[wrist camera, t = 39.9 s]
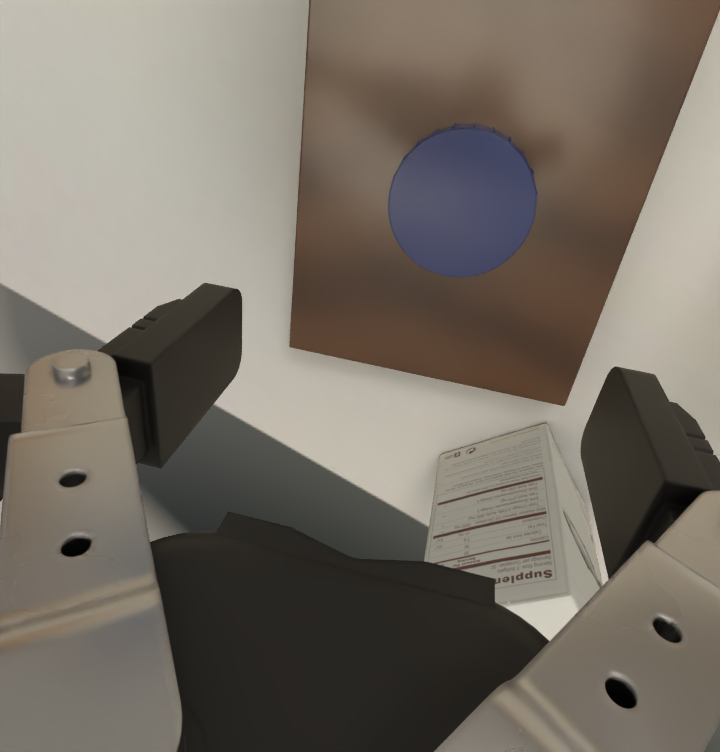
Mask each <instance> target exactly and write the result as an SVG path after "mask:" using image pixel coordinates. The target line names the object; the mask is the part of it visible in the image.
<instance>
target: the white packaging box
mask: <svg viewBox="0 0 720 752" xmlns="http://www.w3.org/2000/svg"><path fill="white" fill-rule="evenodd" d="M424 561H425V562H430V563H434V564H438V565H442V566H446V567H450V568H454V569H458V570H462V571H466V572H470V573H474V574H478V575H482V576H486V577H490V578H494V579H495V602H496V603H498V604H500V605H502V606H504V607H505V608H507V609H509V610H510V611H512V612H514V613H515V614H517V615H518V616H520V617H521V618H523V619H524V620H525V621H527V622H528V623H529V624H531V625H532V626H533V627H535V628H536V629H537V630H538V631H539V632H540V633H541V634H542V635H544V636H545V637H546V638H547V639H548V640H549V641H550V640H551V639H552V638H553V637H554V636H555V635H556V634H557V633H558V632H559V631H560V630H561V629H562V628H563V627H564V626H565V625H566V624H567V623H568V622H569V621H570V620H571V619H572V617H573V616H574V615H575V614H576V613H577V612H578V611H579V610H580V609H581V608H582V607H583V606H584V605H585V604H586V603H587V602H588V601H589V600H590V599H591V598H592V597H593V596H594V595H595V593H596V592H597V591H598V590H599V589H600V588H601V587H602V586H603V584H602V579H601V574H600V569H599V564H598V559H597V554H596V550H595V544H594V539H593V534H592V530H591V525H590V520H589V515H588V511H587V507H586V505H585V503H584V502H583V500H582V498H581V496H580V494H579V492H578V491H577V489H576V487H575V485H574V483H573V481H572V479H571V477H570V475H569V472H568V470H567V468H566V466H565V464H564V462H563V459H562V457H561V455H560V453H559V451H558V448H557V446H556V444H555V441H554V439H553V437H552V434H551V432H550V429H549V427H548V425H547V424H541V425H537V426H534V427H530V428H527V429H523V430H520V431H517V432H513V433H510V434H507V435H503V436H500V437H496V438H493V439H490V440H487V441H483V442H480V443H477V444H473V445H470V446H467V447H463V448H460V449H457V450H454V451H450V452H447V453H444V454H442V455H440V456H439V463H438V470H437V476H436V484H435V491H434V498H433V505H432V511H431V518H430V525H429V531H428V539H427V545H426V552H425V559H424Z"/></svg>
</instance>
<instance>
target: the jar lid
mask: <svg viewBox="0 0 720 752" xmlns="http://www.w3.org/2000/svg"><path fill="white" fill-rule="evenodd" d="M415 145H416V146H415V147H414V148H413V149H412V151H411V152H410V153H409V154H406V155H405V156H404V157H403V159H402V163H401V165H400V166H399V168H398V170H397V171H396V173H395V175H394V176H393V181H392V184H391V188H390V192H389V196H388V197H389V199H388V212H389V220H390V224H391V228H392V231H393V234H394V236H395V238H396V240H397V242H398V244H399V245H400V247H401V248H402V250H403V251H404V252H405V253H406V254H407V255H408V257H409V258H411V259H412V260H413V261H414V262H415V263H416V264H418V265H419V266H421V267H422V268H424V269H426V270H428V271H430V272H433V273H436V274H438V275H442V276H447V277H457V278H458V277H470V276H476V275H480V274H483V273H486V272H488V271H490V270H493V269H495V268H496V267H498V266H500V265H501V264H503V263H504V262H505V261H507V260H508V259H509V258H510V257H511V256H512V255H513V254H514V253H515V252H516V251H517V250H518V249H519V248H520V246H521V245H522V244H523V242H524V240H525V239H526V237H527V235H528V234H529V231H530V229H531V227H532V223H533V220H534V217H535V215H536V213H535V211H536V198H537V197H536V196H538V193H537V190H536V187H535V183H534V179H533V176H535V175H534V172H533V169H530V167H529V164H528V161H527V160H526V155H525V152H524V151H523V152H522V151H521V150H520V149H519V148H518V146H517V145H516V144H515V143H514V142H513V141H512V137H509V138H508V137H507V136H505V135H504V134H503V133H501V132H499V131H497V130H495V127H493V128H489V127H486V126H483V125H477V124H476V122H474V123H473V124H458V125H456V123H454V124H453V125H452V126H449V127H445V128H443V129H440V130H437V129H435V130H434V131H433V133H432V134H430V135H428V136H427V137H426V138H424V139H423V140H422V141H421V140H419V141H418V142H417V143H416V144H415Z"/></svg>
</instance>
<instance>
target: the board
mask: <svg viewBox="0 0 720 752" xmlns="http://www.w3.org/2000/svg"><path fill="white" fill-rule="evenodd" d="M719 11H720V0H309V17H308V34H307V52H306V69H305V86H304V103H303V121H302V138H301V155H300V172H299V190H298V207H297V224H296V241H295V258H294V276H293V293H292V310H291V327H290V345H289V346H290V347H292V348H296V349H301V350H306V351H310V352H315V353H320V354H324V355H329V356H333V357H338V358H343V359H347V360H352V361H357V362H361V363H366V364H371V365H375V366H380V367H385V368H389V369H394V370H399V371H403V372H408V373H413V374H417V375H422V376H427V377H431V378H436V379H441V380H445V381H450V382H455V383H459V384H464V385H469V386H473V387H478V388H482V389H487V390H492V391H496V392H501V393H506V394H510V395H515V396H520V397H524V398H529V399H534V400H538V401H543V402H548V403H552V404H557V405H562V406H565V404H566V402H567V399H568V396H569V394H570V391H571V389H572V386H573V384H574V381H575V379H576V376H577V373H578V371H579V368H580V366H581V363H582V361H583V358H584V356H585V353H586V350H587V348H588V345H589V343H590V340H591V338H592V335H593V333H594V330H595V327H596V325H597V322H598V320H599V317H600V315H601V312H602V310H603V307H604V304H605V302H606V299H607V297H608V294H609V292H610V289H611V287H612V284H613V281H614V279H615V276H616V274H617V271H618V269H619V266H620V264H621V261H622V258H623V256H624V253H625V251H626V248H627V246H628V243H629V241H630V238H631V235H632V233H633V230H634V228H635V225H636V223H637V220H638V218H639V215H640V212H641V210H642V207H643V205H644V202H645V200H646V197H647V195H648V192H649V189H650V187H651V184H652V182H653V179H654V177H655V174H656V172H657V169H658V166H659V164H660V161H661V159H662V156H663V154H664V151H665V149H666V146H667V143H668V141H669V138H670V136H671V133H672V131H673V128H674V126H675V123H676V120H677V118H678V115H679V113H680V110H681V108H682V105H683V103H684V100H685V97H686V95H687V92H688V90H689V87H690V85H691V82H692V80H693V77H694V74H695V72H696V69H697V67H698V64H699V62H700V59H701V57H702V54H703V51H704V49H705V46H706V44H707V41H708V39H709V36H710V34H711V31H712V28H713V26H714V23H715V21H716V18H717V16H718V13H719ZM474 122H476V124H477V125H483V126H486V127H489V128H493V127H495V130H497V131H499V132H501V133H503V134H504V135H505V136H507V137H508V138H509V137H512V141H513V142H514V143H515V144H516V145H517V146H518V148H519V149H520V150H521V151H522V152H523V151H524V152H525V155H526V160H527V161H528V164H529V167H530V169H533V172H534V175H535V176H533V179H534V183H535V187H536V190H537V193H538V196H536V197H537V198H536V211H535V213H536V215H535V217H534V220H533V223H532V227H531V229H530V231H529V234H528V235H527V237H526V239H525V240H524V242H523V244H522V245H521V246H520V248H519V249H518V250H517V251H516V252H515V253H514V254H513V255H512V256H511V257H510V258H509V259H508V260H507V261H505V262H504V263H503V264H501V265H500V266H498V267H496V268H495V269H493V270H490V271H488V272H486V273H483V274H480V275H476V276H470V277H458V278H457V277H447V276H442V275H438V274H436V273H433V272H430V271H428V270H426V269H424V268H422V267H421V266H419V265H418V264H416V263H415V262H414V261H413V260H412V259H411V258H409V257H408V255H407V254H406V253H405V252H404V251H403V250H402V248H401V247H400V245H399V244H398V242H397V240H396V238H395V236H394V234H393V231H392V228H391V224H390V220H389V212H388V199H389V197H388V196H389V192H390V188H391V184H392V181H393V176H394V175H395V173H396V171H397V170H398V168H399V166H400V165H401V163H402V159H403V157H404V156H405V155H406V154H409V153H410V152H411V151H412V149H413V148H414V147H415V146H416V145H415V144H416V143H417V142H418V141H419V140H421V141H422V140H423V139H424V138H426V137H427V136H428V135H430V134H432V133H433V131H434V130H435V129H437V130H440V129H443V128H445V127H449V126H452V125H453V124H454V123H456V125H458V124H473V123H474Z"/></svg>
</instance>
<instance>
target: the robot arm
mask: <svg viewBox="0 0 720 752" xmlns="http://www.w3.org/2000/svg"><path fill="white" fill-rule="evenodd" d="M241 355H242V296H241V293H240V291H239V290H238V289H234V288H229V287H224V286H219V285H214V284H209V283H204V284H202V285H201V286H200V287H198V288H197V289H196V290H194V291H193V292H192V293H190V294H189V295H188V296H187V297H185V298H184V299H183V300H181V299H177V300H175V301H172V302H169V303H166V304H163V305H160V306H157V307H156V308H155V309H153V310H152V311H151V312H149V313H148V314H147V315H145V316H144V318H143V319H140V320H138V321H137V322H136V323H134V324H133V325H132V328H130V327H129V328H128V329H126V330H125V331H124V332H122V333H121V334H119V335H118V336H117V337H115V338H114V339H113V340H111V341H110V342H109V343H107V344H106V345H105V346H103V347H102V348H101V349H99V350H98V351H94V350H79V349H78V350H67V351H61V352H56V353H53V354H50V355H47V356H45V357H42V358H40V359H38V360H37V361H35V362H34V363H32V364H31V365H30V366H29V367H28V369H27V370H26V373H25V374H0V501H1V500H2V499H3V503H2V513H1V524H0V752H704V750H705V748H706V746H707V744H708V742H709V740H710V738H711V736H712V735H713V733H714V731H715V729H716V727H717V725H718V723H719V722H720V462H719V460H718V458H717V457H716V455H713V452H714V451H713V450H712V448H711V446H710V444H709V442H708V441H707V440H705V435H704V434H703V432H702V430H701V428H700V427H699V425H698V423H697V421H696V420H695V419H694V418H693V417H692V416H691V415H689V414H688V413H687V412H686V411H685V410H684V409H683V408H682V407H680V406H679V405H678V404H677V403H674V402H669V400H668V398H667V396H666V394H665V392H664V390H663V389H662V387H661V385H660V383H659V381H658V379H657V377H656V376H655V375H654V374H650V373H645V372H640V371H635V370H630V369H625V368H620V367H614V368H612V369H611V371H610V372H609V374H608V375H607V377H606V380H605V382H604V384H603V387H602V389H601V391H600V394H599V396H598V398H597V401H596V403H595V405H594V408H593V410H592V412H591V415H590V417H589V420H588V422H587V424H586V427H585V429H584V432H583V436H582V441H581V459H582V463H583V467H584V472H585V476H586V481H587V485H588V489H589V494H590V498H591V503H592V507H593V512H594V516H595V520H596V525H597V529H598V534H599V538H600V542H601V547H602V551H603V556H604V560H605V565H606V569H607V573H608V578H609V580H608V581H607V582H606V583H605V584H604V585H603V586H602V587H601V588H600V589H599V590H598V591H597V592H596V593H595V595H594V596H593V597H592V598H591V599H590V600H589V601H588V602H587V603H586V604H585V605H584V606H583V607H582V608H581V609H580V610H579V611H578V612H577V613H576V614H575V615H574V616H573V617H572V619H571V620H570V621H569V622H568V623H567V624H566V625H565V626H564V627H563V628H562V629H561V630H560V631H559V632H558V633H557V634H556V635H555V636H554V637H553V638H552V639H551V640H550V641H549V640H548V639H547V638H546V637H545V636H544V635H542V634H541V633H540V632H539V631H538V630H537V629H536V628H535V627H533V626H532V625H531V624H529V623H528V622H527V621H525V620H524V619H523V618H521V617H520V616H518V615H517V614H515V613H514V612H512V611H510V610H509V609H507V608H505V607H504V606H502V605H500V604H498V603H496V602H495V579H494V578H490V577H486V576H482V575H478V574H474V573H470V572H466V571H462V570H458V569H454V568H450V567H446V566H442V565H438V564H434V563H430V562H425V561H398V560H373V559H356V558H352V557H350V556H347V555H345V554H343V553H341V552H339V551H337V550H335V549H333V548H331V547H329V546H327V545H325V544H323V543H321V542H319V541H317V540H315V539H313V538H311V537H309V536H307V535H305V534H303V533H301V532H299V531H297V530H295V529H293V528H291V527H288V526H284V525H280V524H276V523H272V522H268V521H263V520H260V519H255V518H252V517H248V516H244V515H240V514H236V513H232V512H228V513H227V515H226V517H225V518H224V520H223V522H222V523H221V525H220V527H219V528H218V530H217V531H197V532H188V533H182V534H176V535H172V536H168V537H164V538H161V539H158V540H155V541H152V542H150V540H149V534H148V528H147V523H146V517H145V512H144V506H143V501H142V495H141V490H140V484H139V479H138V474H137V468H136V464H137V463H142V464H146V465H150V466H154V467H158V468H162V466H163V465H164V464H165V463H166V462H167V460H168V459H169V458H170V457H171V455H172V454H173V453H174V452H175V450H176V449H177V448H178V447H179V446H180V444H181V443H182V442H183V441H184V439H185V438H186V437H187V436H188V434H189V433H190V432H191V431H192V430H193V428H194V427H195V426H196V425H197V423H198V422H199V421H200V420H201V418H202V417H203V416H204V415H205V413H206V412H207V411H208V410H209V409H210V407H211V406H212V405H213V404H214V402H215V401H216V400H217V399H218V397H219V396H220V395H221V394H222V392H223V391H224V390H225V389H226V388H227V386H228V385H229V384H230V383H231V381H232V380H233V379H234V377H235V376H236V374H237V371H238V369H239V365H240V361H241Z"/></svg>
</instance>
